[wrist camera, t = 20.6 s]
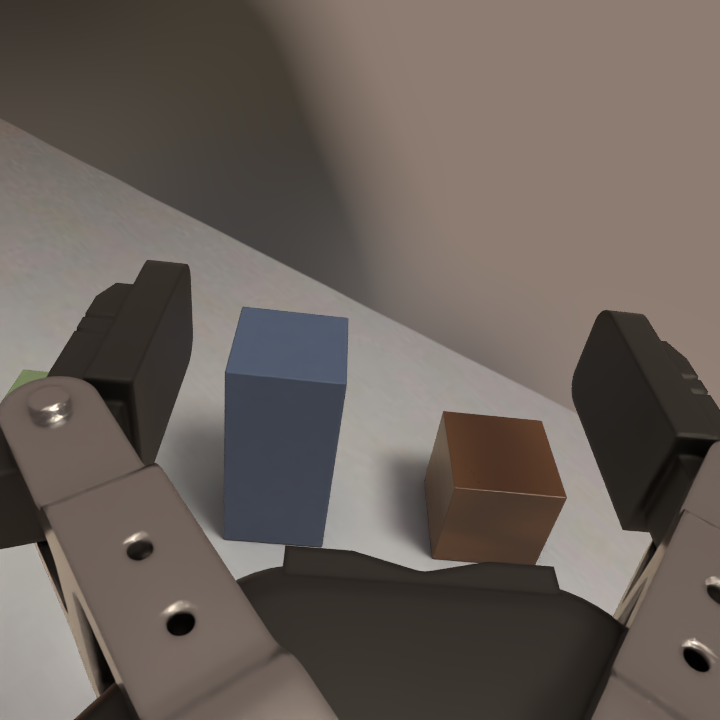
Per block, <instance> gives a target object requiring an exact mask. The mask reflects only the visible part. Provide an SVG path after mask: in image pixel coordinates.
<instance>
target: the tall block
mask: <svg viewBox="0 0 720 720" xmlns="http://www.w3.org/2000/svg"><path fill="white" fill-rule="evenodd" d="M347 353H348V318H342V317H333V316H324V315H315V314H306V313H296V312H287V311H278V310H269V309H260V308H250V307H242V310H241V314H240V318H239V322H238V325H237V329H236V333H235V337H234V340H233V344H232V348H231V352H230V355H229V359H228V363H227V367H226V370H225V438H224V539H228V540H241V541H253V542H265V543H278V544H290V545H302V546H315V547H322V544H323V537H324V530H325V524H326V517H327V511H328V504H329V498H330V491H331V484H332V478H333V471H334V465H335V458H336V452H337V445H338V438H339V432H340V425H341V419H342V412H343V405H344V399H345V392H346V386H347Z"/></svg>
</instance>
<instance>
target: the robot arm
mask: <svg viewBox="0 0 720 720" xmlns="http://www.w3.org/2000/svg"><path fill="white" fill-rule="evenodd" d="M192 341H193V324H192V300H191V277H190V269H189V266H188V264H182V263H173V262H163V261H154V260H147V261H146V262H145V264H144V266H143V267H142V269H141V271H140V273H139V275H138V277H137V278H136V280H135V282H134V284H123V283H115V284H114V285H112V286H111V287H109V288H108V289H106V290H105V291H103V292H102V293H100V294H99V295H97V296H96V297H95V299H94V300H93V302H92V304H91V305H90V307H89V309H88V310H87V312H86V316H85V317H83V318H82V320H81V321H80V323H79V325H78V326H77V331H74V333H73V334H72V336H71V338H70V339H69V341H68V343H67V344H66V346H65V347H64V349H63V351H62V352H61V354H60V356H59V357H58V359H57V360H56V362H55V364H54V365H53V367H52V368H51V370H50V372H49V373H48V375H47V377H45V378H41V379H36V380H33V381H30V382H27V383H25V384H23V385H21V386H19V387H18V388H16V389H14V390H13V391H12V392H10V393H9V394H8V395H7V396H6V397H5V398H4V399H3V400H2V402H1V404H0V549H4V548H9V547H15V546H20V545H25V544H31V543H34V544H35V546H36V549H37V551H38V553H39V556H40V558H41V560H42V563H43V565H44V568H45V570H46V572H47V575H48V577H49V579H50V582H51V584H52V586H53V589H54V591H55V593H56V596H57V598H58V600H59V603H60V605H61V607H62V610H63V612H64V614H65V617H66V619H67V622H68V624H69V626H70V629H71V631H72V634H73V637H74V639H75V642H76V645H77V648H78V651H79V654H80V657H81V659H82V662H83V665H84V668H85V670H86V673H87V675H88V678H89V680H90V683H91V685H92V688H93V690H94V693H95V695H96V697H97V699H96V700H95V701H94V702H93V703H92V704H90V705H89V706H88V707H87V708H86V709H85V710H84V711H83V712H82V713H81V714H80V715H78V716H77V717H76V718H75V719H74V720H720V410H719V408H718V406H717V405H716V403H715V402H714V400H713V399H712V397H711V396H710V395H707V393H708V391H707V389H706V388H705V386H704V385H703V383H702V382H701V380H698V375H697V374H696V373H695V371H694V369H693V368H692V366H691V365H690V363H689V362H688V360H687V359H686V358H685V357H684V356H683V355H682V354H680V353H679V352H678V351H677V350H675V349H674V348H673V347H672V346H671V345H670V344H668V343H667V342H666V341H661V340H660V339H659V337H658V336H657V334H656V332H655V331H654V329H653V327H652V326H651V324H650V323H649V321H648V319H647V318H646V317H645V316H644V315H643V314H636V313H628V312H618V311H609V310H604V311H602V312H601V313H600V314H599V315H598V317H597V318H596V320H595V323H594V325H593V327H592V330H591V332H590V335H589V337H588V340H587V342H586V345H585V347H584V349H583V352H582V354H581V357H580V359H579V362H578V364H577V367H576V369H575V372H574V376H573V380H572V398H573V402H574V405H575V408H576V410H577V413H578V415H579V418H580V421H581V423H582V426H583V428H584V431H585V434H586V436H587V439H588V441H589V444H590V446H591V449H592V452H593V454H594V457H595V459H596V462H597V465H598V467H599V470H600V472H601V475H602V477H603V480H604V483H605V485H606V488H607V490H608V493H609V496H610V498H611V501H612V503H613V506H614V509H615V511H616V514H617V516H618V519H619V521H620V524H621V527H622V529H623V530H628V531H640V532H650V535H651V537H652V539H653V540H652V542H651V543H650V545H649V546H648V548H647V550H646V551H645V553H644V555H643V557H642V559H641V561H640V563H639V565H638V567H637V569H636V571H635V573H634V575H633V577H632V579H631V581H630V583H629V585H628V587H627V589H626V591H625V593H624V595H623V597H622V599H621V601H620V603H619V605H618V607H617V609H616V611H615V613H614V615H613V617H612V616H611V615H610V614H608V613H607V612H605V611H604V610H602V609H601V608H599V607H598V606H596V605H594V604H592V603H590V602H588V601H586V600H585V599H583V598H581V597H578V596H576V595H574V594H571V593H569V592H566V591H564V590H561V589H559V585H558V581H557V577H556V574H555V570H554V567H551V566H538V565H525V564H513V563H500V562H484V563H478V564H471V565H465V566H459V567H453V568H447V569H440V570H434V571H426V572H425V571H417V570H414V569H410V568H407V567H404V566H401V565H397V564H394V563H391V562H388V561H384V560H381V559H378V558H374V557H371V556H368V555H365V554H361V553H358V552H355V551H348V550H336V549H323V548H310V547H298V546H285V554H284V562H283V566H282V567H276V568H270V569H266V570H262V571H259V572H255V573H252V574H250V575H247V576H245V577H243V578H240V579H238V580H236V581H235V579H234V578H233V576H232V574H231V573H230V571H229V570H228V568H227V567H226V565H225V564H224V562H223V561H222V559H221V558H220V556H219V555H218V553H217V551H216V550H215V548H214V547H213V545H212V544H211V542H210V541H209V539H208V538H207V536H206V535H205V533H204V532H203V530H202V528H201V527H200V525H199V524H198V522H197V521H196V519H195V518H194V516H193V515H192V513H191V512H190V510H189V509H188V507H187V505H186V504H185V502H184V501H183V499H182V498H181V496H180V495H179V493H178V492H177V490H176V489H175V487H174V486H173V484H172V482H171V481H170V479H169V478H168V476H167V475H166V473H165V472H164V471H163V469H162V468H161V467H160V466H159V465H158V464H156V463H154V462H155V459H156V456H157V453H158V450H159V447H160V444H161V442H162V439H163V436H164V433H165V430H166V427H167V424H168V422H169V419H170V416H171V413H172V410H173V407H174V404H175V402H176V399H177V396H178V393H179V390H180V387H181V384H182V382H183V379H184V376H185V373H186V370H187V367H188V364H189V361H190V356H191V351H192Z"/></svg>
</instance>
